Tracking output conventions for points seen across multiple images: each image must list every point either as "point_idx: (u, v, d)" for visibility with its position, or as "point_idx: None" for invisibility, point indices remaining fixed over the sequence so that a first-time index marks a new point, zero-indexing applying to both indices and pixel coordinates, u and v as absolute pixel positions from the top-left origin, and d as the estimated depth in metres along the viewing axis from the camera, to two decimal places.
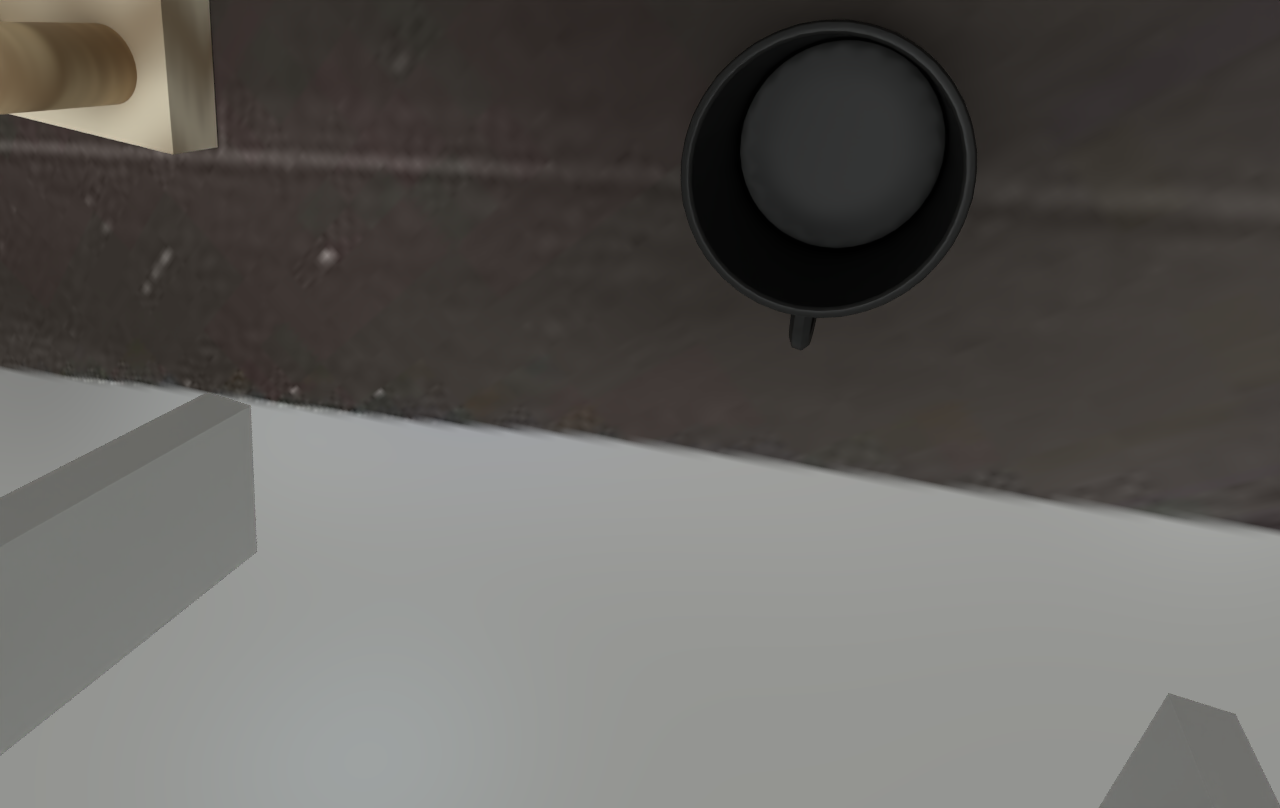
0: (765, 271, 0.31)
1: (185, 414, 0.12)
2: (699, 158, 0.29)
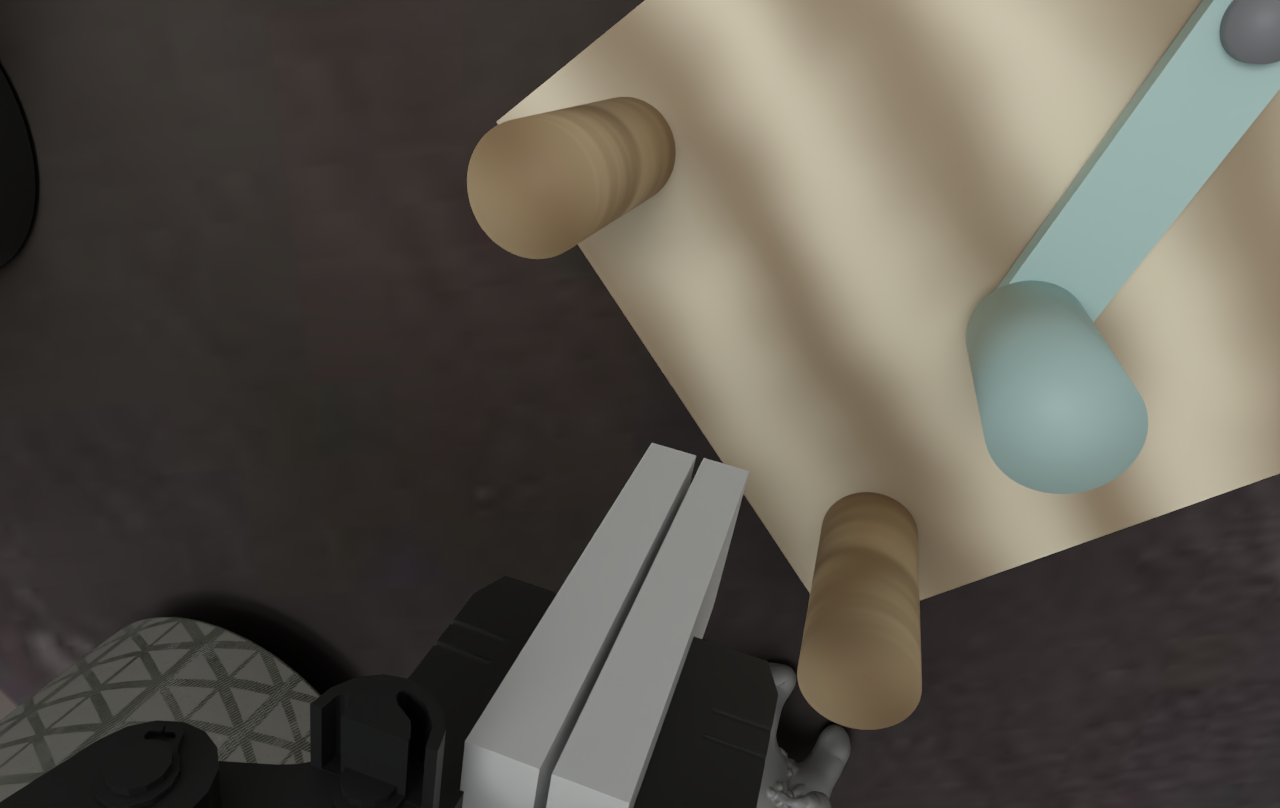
0: None
1: (654, 466, 0.13)
2: None
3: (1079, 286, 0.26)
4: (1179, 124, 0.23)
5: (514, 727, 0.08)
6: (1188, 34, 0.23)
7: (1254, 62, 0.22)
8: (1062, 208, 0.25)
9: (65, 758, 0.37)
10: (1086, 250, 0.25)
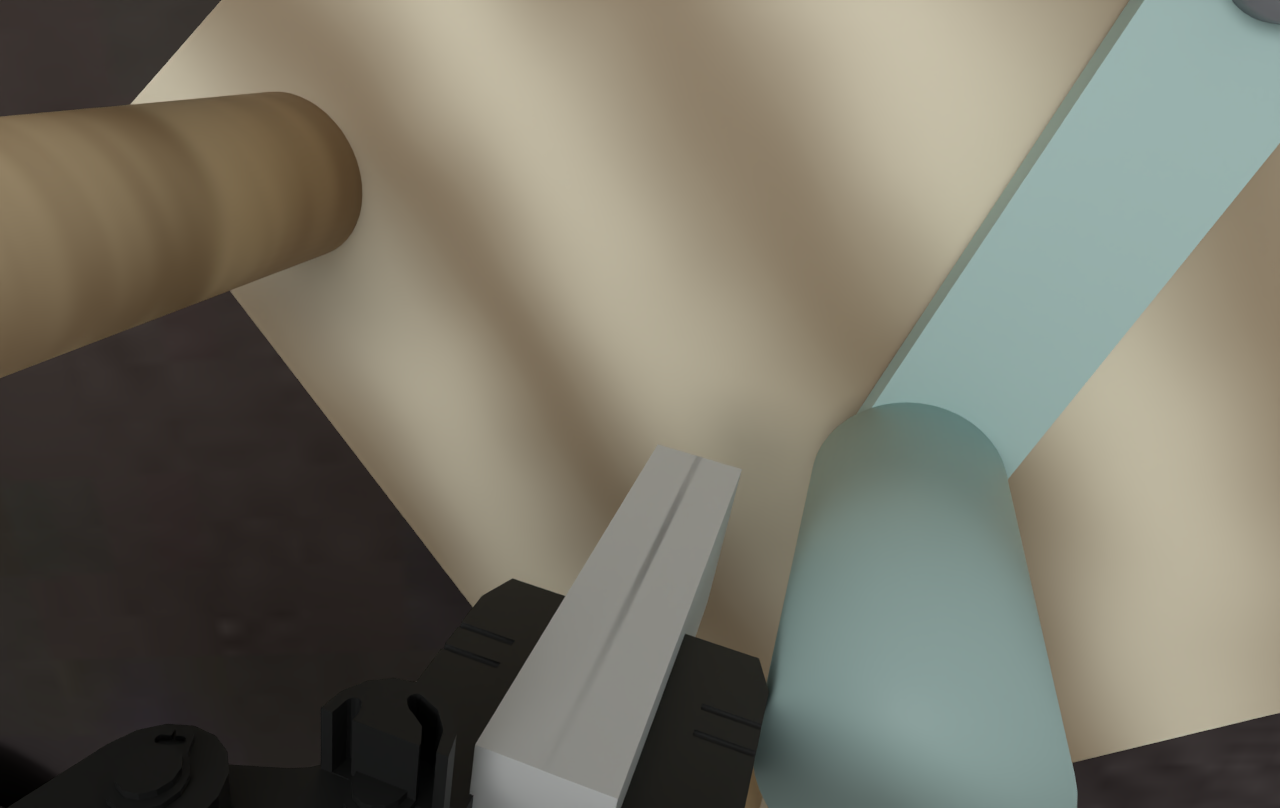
0: None
1: (660, 467, 0.13)
2: None
3: (987, 414, 0.15)
4: (1149, 140, 0.13)
5: (524, 731, 0.08)
6: None
7: None
8: (952, 285, 0.14)
9: None
10: (996, 357, 0.15)
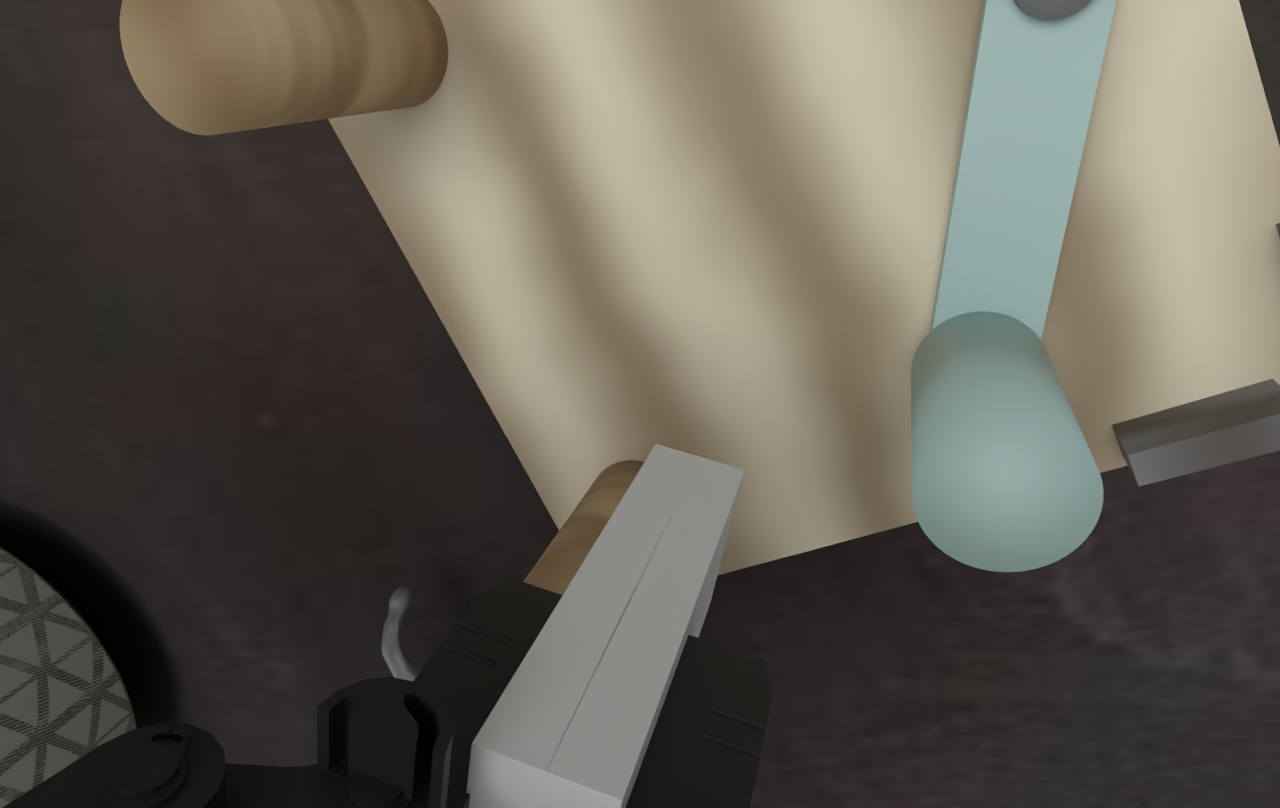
0: None
1: (658, 467, 0.13)
2: None
3: (1007, 303, 0.23)
4: (1023, 105, 0.21)
5: (521, 730, 0.08)
6: (984, 17, 0.20)
7: (1063, 16, 0.19)
8: (948, 234, 0.22)
9: None
10: (995, 266, 0.22)
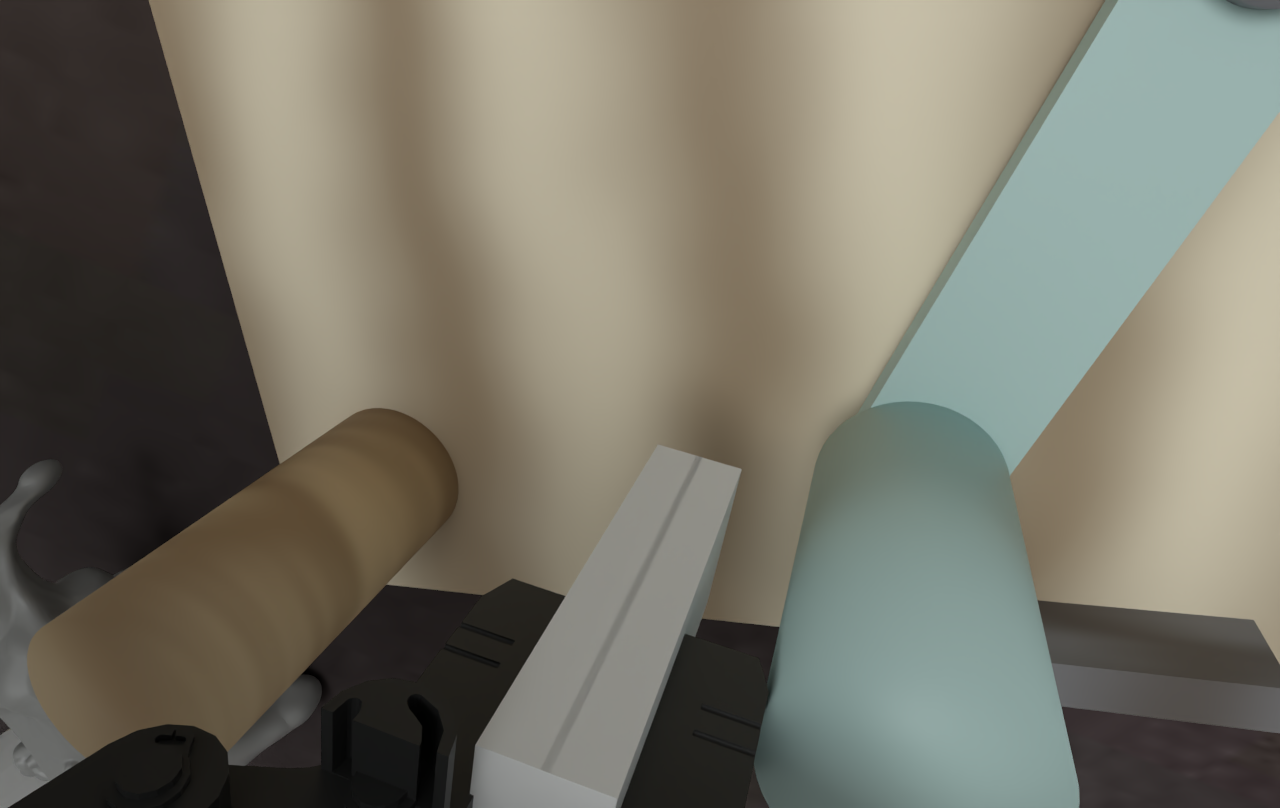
0: None
1: (661, 467, 0.13)
2: None
3: (986, 410, 0.15)
4: (1136, 131, 0.13)
5: (525, 731, 0.08)
6: None
7: (1271, 5, 0.11)
8: (945, 283, 0.14)
9: None
10: (993, 353, 0.15)
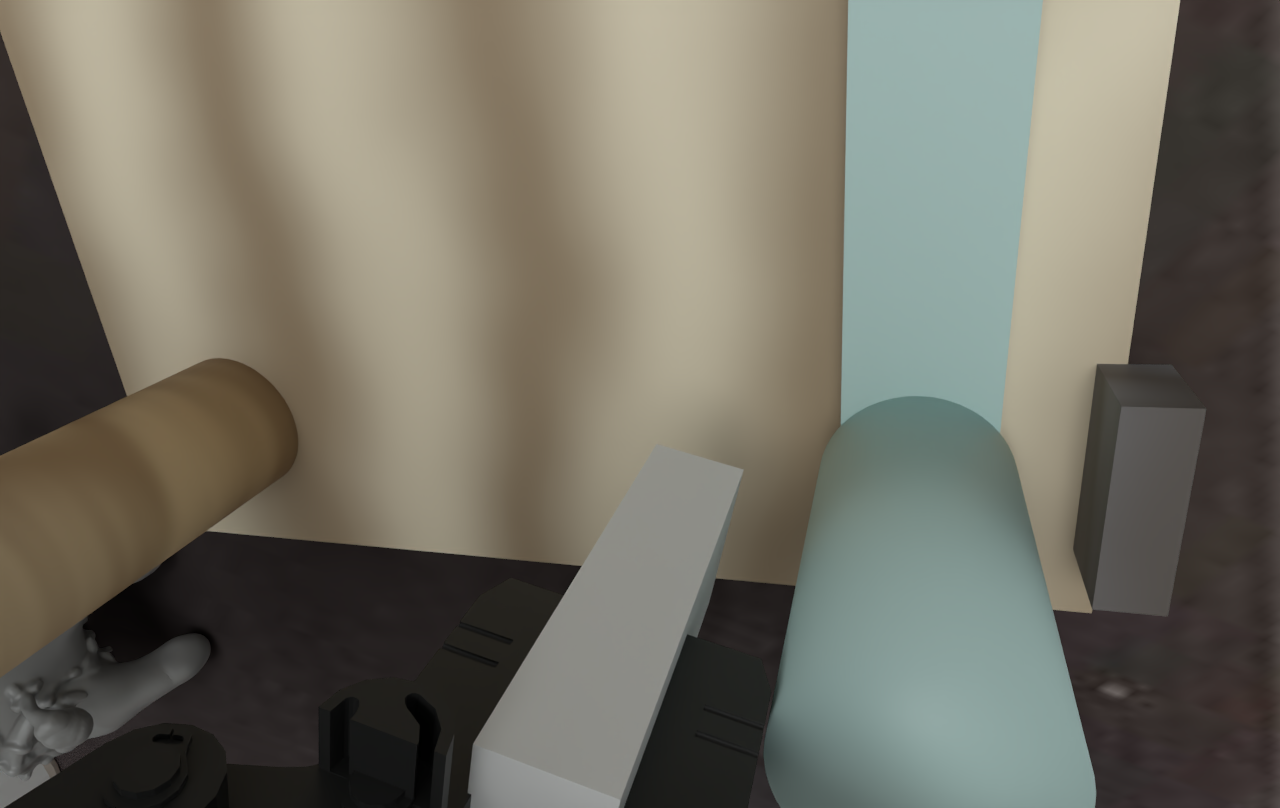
0: None
1: (659, 467, 0.13)
2: None
3: (943, 383, 0.15)
4: (927, 87, 0.13)
5: (522, 730, 0.08)
6: None
7: None
8: (843, 288, 0.15)
9: None
10: (918, 330, 0.15)
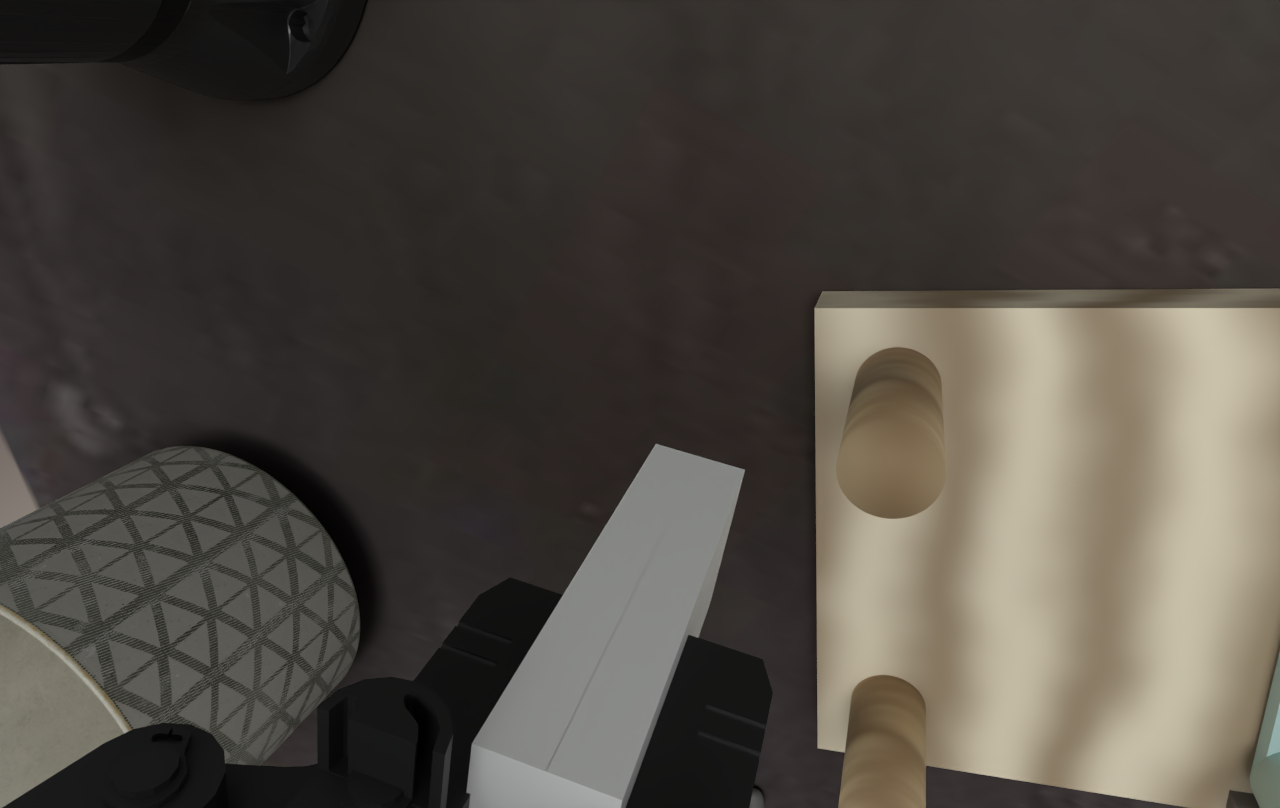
0: None
1: (658, 467, 0.13)
2: None
3: None
4: None
5: (521, 729, 0.08)
6: None
7: None
8: (1277, 705, 0.35)
9: (163, 580, 0.41)
10: None
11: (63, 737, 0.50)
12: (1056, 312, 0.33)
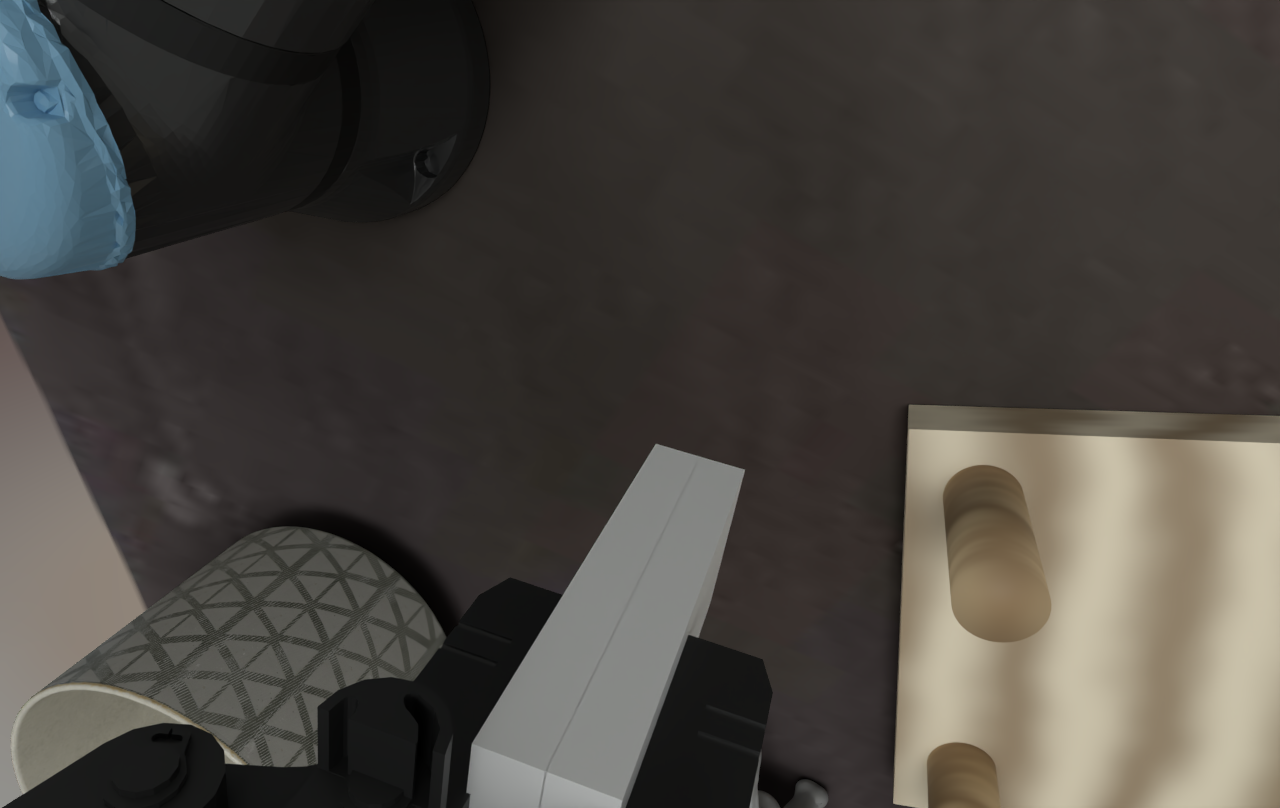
0: None
1: (658, 467, 0.13)
2: None
3: None
4: None
5: (521, 730, 0.08)
6: None
7: None
8: None
9: (300, 671, 0.44)
10: None
11: None
12: (1131, 441, 0.37)
